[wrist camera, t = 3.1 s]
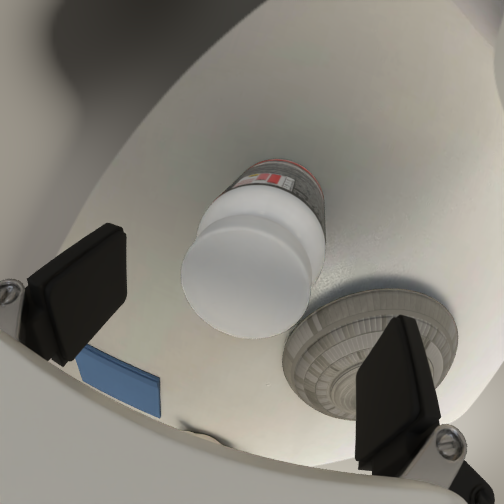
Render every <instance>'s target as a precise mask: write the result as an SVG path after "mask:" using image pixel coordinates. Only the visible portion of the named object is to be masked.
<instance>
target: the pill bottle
mask: <svg viewBox="0 0 504 504" xmlns="http://www.w3.org/2000/svg"><path fill="white" fill-rule="evenodd" d="M325 251H326V235H325V207H324V196H323V193H322V190H321V187H320V185H319V183H318V181H317V180H316V178H315V177H314V176H313V175H312V174H311V173H310V172H309V171H308V170H307V169H306V168H304V167H303V166H301V165H299V164H297V163H295V162H292V161H289V160H284V159H270V160H265V161H262V162H259V163H257V164H255V165H253V166H252V167H250V168H249V169H248V170H246V171H245V172H244V173H243V174H242V175H241V176H240V177H239V178H238V179H237V180H236V181H235V182H234V183H233V184H231V185H230V186H229V187H228V188H227V189H226V190H225V191H224V192H223V193H222V194H221V195H220V196H219V197H218V198H216V199H215V200H214V201H213V203H212V204H211V205H210V206H209V207H208V209H207V210H206V212H205V213H204V215H203V217H202V219H201V221H200V224H199V227H198V231H197V236H196V240H195V241H194V243H193V244H192V245H191V247H190V248H189V249H188V251H187V253H186V255H185V257H184V259H183V263H182V267H181V284H182V288H183V291H184V294H185V296H186V299H187V301H188V302H189V304H190V306H191V307H192V308H193V310H194V311H195V312H196V313H197V315H198V316H199V317H200V318H201V319H203V320H204V321H205V322H206V323H207V324H209V325H210V326H212V327H213V328H215V329H217V330H219V331H221V332H223V333H225V334H228V335H231V336H235V337H238V338H244V339H263V338H269V337H272V336H276V335H278V334H281V333H283V332H285V331H286V330H288V329H289V328H291V327H292V326H293V325H295V324H296V323H297V322H298V321H299V319H300V318H301V317H302V316H303V314H304V312H305V311H306V309H307V306H308V303H309V299H310V293H311V287H312V286H313V285H314V283H315V282H316V280H317V279H318V277H319V275H320V273H321V271H322V268H323V265H324V261H325Z"/></svg>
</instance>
